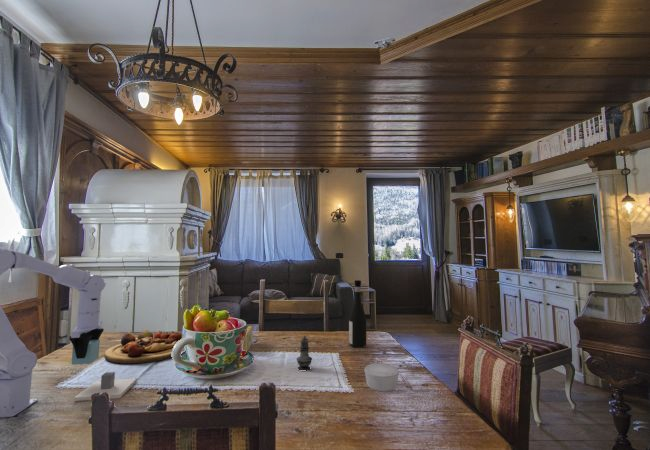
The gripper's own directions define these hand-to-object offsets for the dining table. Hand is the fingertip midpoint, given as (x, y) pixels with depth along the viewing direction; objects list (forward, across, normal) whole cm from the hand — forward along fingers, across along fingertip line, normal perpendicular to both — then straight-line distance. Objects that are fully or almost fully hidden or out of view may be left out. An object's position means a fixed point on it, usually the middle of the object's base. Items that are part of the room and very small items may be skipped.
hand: (85, 355), depth 103 cm
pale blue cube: (+2, 0, 0) cm, 2 cm away
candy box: (+10, +31, -49) cm, 59 cm away
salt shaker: (+10, +3, -71) cm, 72 cm away
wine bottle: (+10, +28, -99) cm, 104 cm away
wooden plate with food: (+10, +34, -8) cm, 37 cm away
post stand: (+9, -5, -9) cm, 14 cm away
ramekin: (+10, -16, -94) cm, 96 cm away
